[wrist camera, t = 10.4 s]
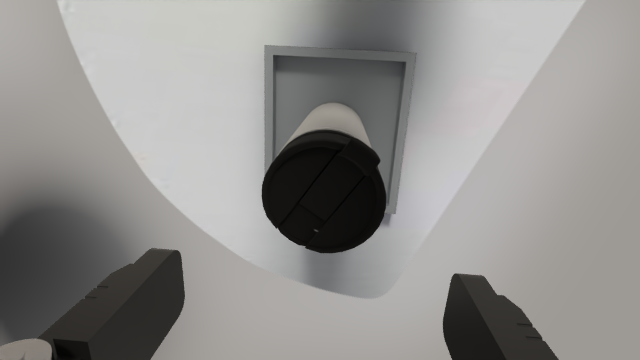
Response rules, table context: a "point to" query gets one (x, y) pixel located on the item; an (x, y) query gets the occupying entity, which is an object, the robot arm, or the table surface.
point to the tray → (341, 98)
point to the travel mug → (326, 183)
